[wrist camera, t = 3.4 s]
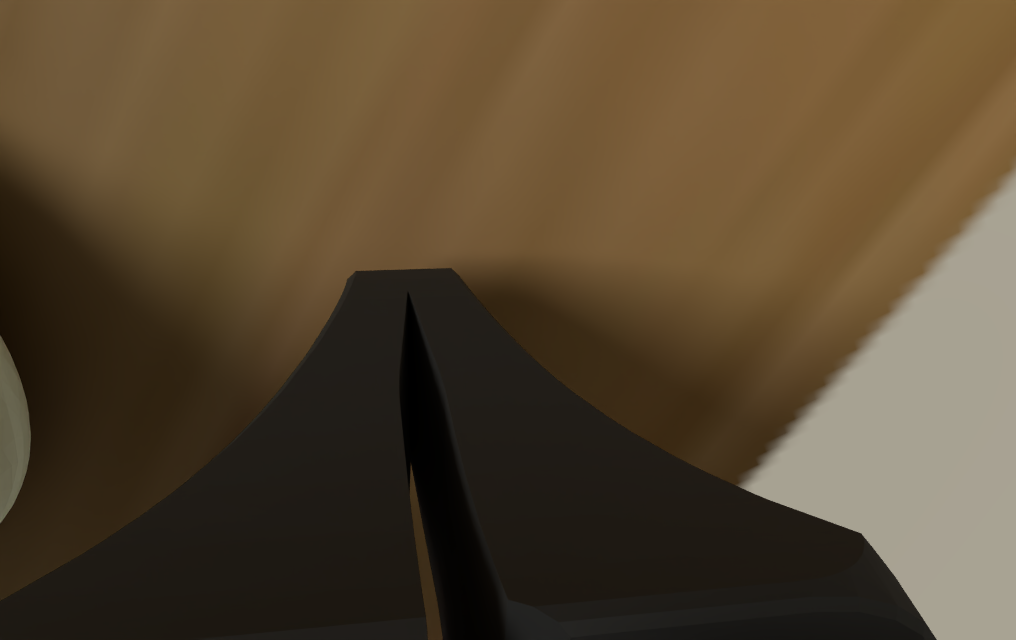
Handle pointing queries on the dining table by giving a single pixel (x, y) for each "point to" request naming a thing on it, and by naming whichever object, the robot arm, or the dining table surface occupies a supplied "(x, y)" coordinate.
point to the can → (12, 432)
